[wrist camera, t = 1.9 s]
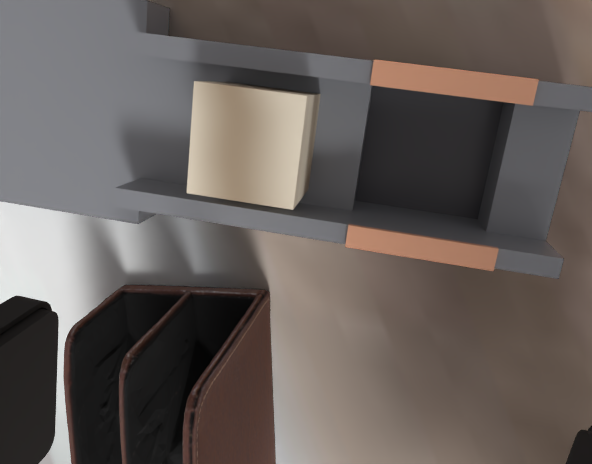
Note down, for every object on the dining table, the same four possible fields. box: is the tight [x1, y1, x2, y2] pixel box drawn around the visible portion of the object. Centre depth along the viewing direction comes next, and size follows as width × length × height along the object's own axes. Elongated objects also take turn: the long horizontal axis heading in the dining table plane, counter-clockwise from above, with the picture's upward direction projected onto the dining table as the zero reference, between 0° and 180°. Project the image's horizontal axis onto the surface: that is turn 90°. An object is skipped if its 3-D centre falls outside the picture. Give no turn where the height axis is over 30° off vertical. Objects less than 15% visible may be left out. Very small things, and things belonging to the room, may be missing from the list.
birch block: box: [187, 81, 321, 210], centre depth 26 cm, size 5×5×5 cm
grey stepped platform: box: [0, 0, 592, 279], centre depth 29 cm, size 34×12×6 cm, turn 83°
